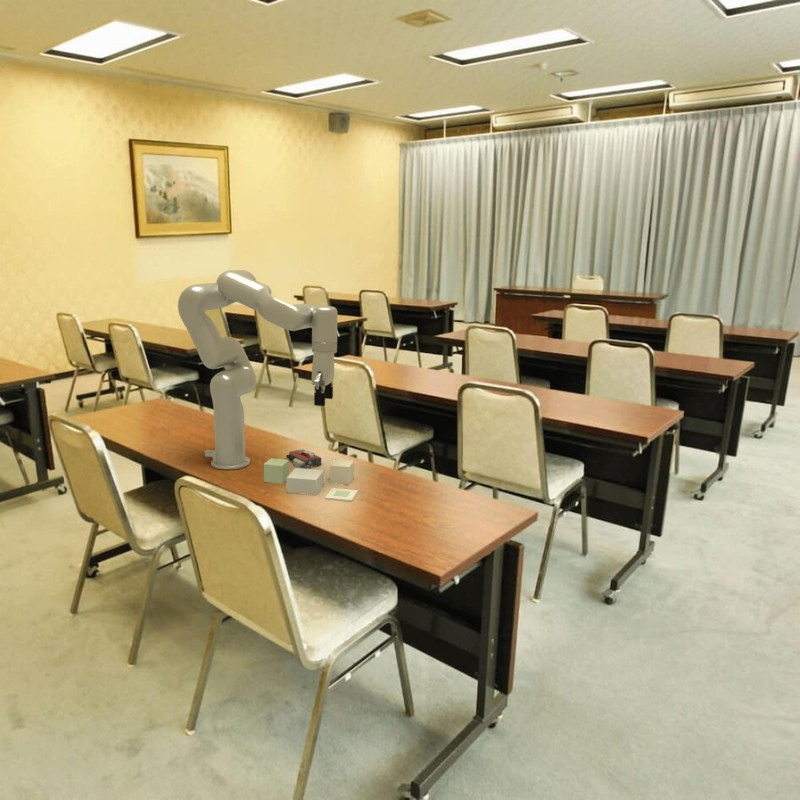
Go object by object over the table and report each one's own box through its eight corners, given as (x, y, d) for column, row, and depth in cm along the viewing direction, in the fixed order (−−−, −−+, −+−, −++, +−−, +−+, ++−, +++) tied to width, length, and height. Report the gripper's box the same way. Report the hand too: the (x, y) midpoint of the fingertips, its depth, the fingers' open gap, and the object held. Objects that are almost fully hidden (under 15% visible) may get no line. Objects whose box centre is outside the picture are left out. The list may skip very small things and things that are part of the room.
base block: (286, 493, 195) (286, 477, 193) (295, 483, 203) (295, 467, 202) (316, 495, 193) (316, 479, 192) (324, 485, 202) (324, 470, 201)
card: (324, 499, 190) (324, 497, 190) (332, 489, 198) (332, 487, 198) (351, 501, 189) (351, 499, 189) (358, 491, 197) (358, 489, 197)
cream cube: (330, 483, 203) (330, 465, 202) (335, 477, 209) (335, 459, 207) (349, 485, 202) (349, 466, 201) (353, 478, 208) (353, 460, 207)
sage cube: (264, 482, 202) (263, 464, 201) (270, 476, 208) (270, 458, 207) (282, 484, 201) (282, 465, 200) (289, 477, 207) (288, 459, 206)
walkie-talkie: (280, 460, 224) (312, 477, 209) (280, 448, 223) (312, 463, 208) (302, 456, 230) (335, 471, 215) (302, 444, 229) (335, 458, 214)
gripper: (319, 342, 208) (319, 395, 212) (304, 350, 191) (304, 407, 195) (343, 344, 207) (341, 396, 211) (329, 352, 190) (328, 409, 194)
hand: (323, 401), depth 203 cm, fingers open, 9 cm apart
